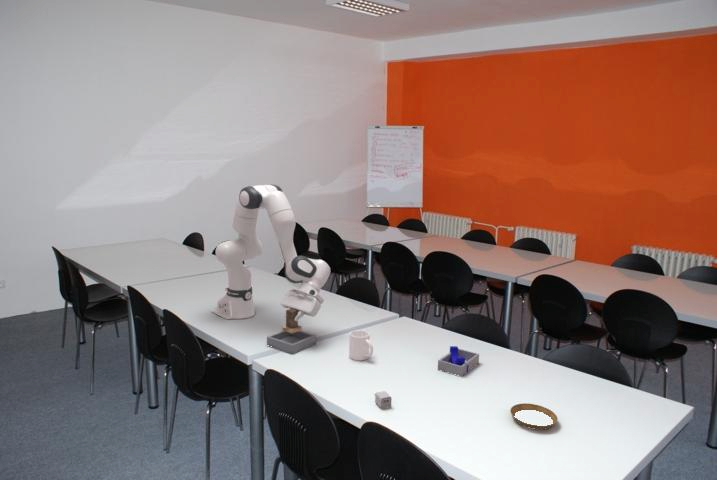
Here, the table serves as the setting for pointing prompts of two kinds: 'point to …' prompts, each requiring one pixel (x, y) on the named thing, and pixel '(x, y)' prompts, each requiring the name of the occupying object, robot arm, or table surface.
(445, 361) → the desk organiser frame
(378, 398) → the usb wall charger
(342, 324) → the table surface
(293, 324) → the oak scraper block
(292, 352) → the box
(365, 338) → the mug
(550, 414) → the brown ring
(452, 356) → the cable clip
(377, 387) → the table surface
